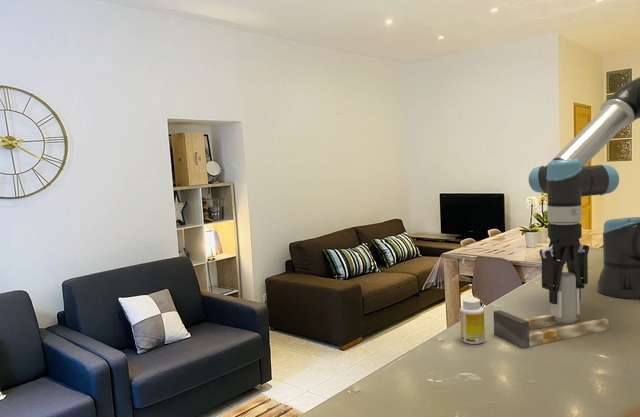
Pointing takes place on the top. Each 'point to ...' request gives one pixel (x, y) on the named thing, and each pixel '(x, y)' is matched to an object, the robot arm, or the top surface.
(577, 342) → the top surface
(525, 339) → the guide channel
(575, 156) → the robot arm
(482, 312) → the supplement bottle
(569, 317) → the beverage can
